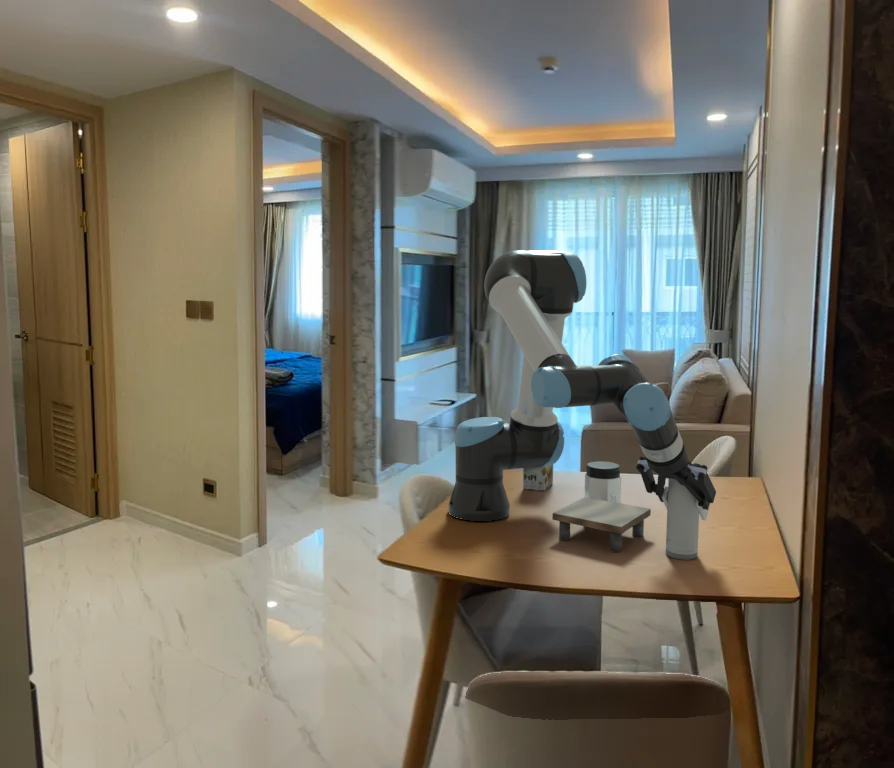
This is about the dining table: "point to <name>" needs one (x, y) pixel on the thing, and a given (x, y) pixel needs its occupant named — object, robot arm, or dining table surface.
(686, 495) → the travel mug
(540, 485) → the coffee box
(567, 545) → the dining table surface
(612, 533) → the peg shelf
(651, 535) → the dining table surface
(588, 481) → the jar
